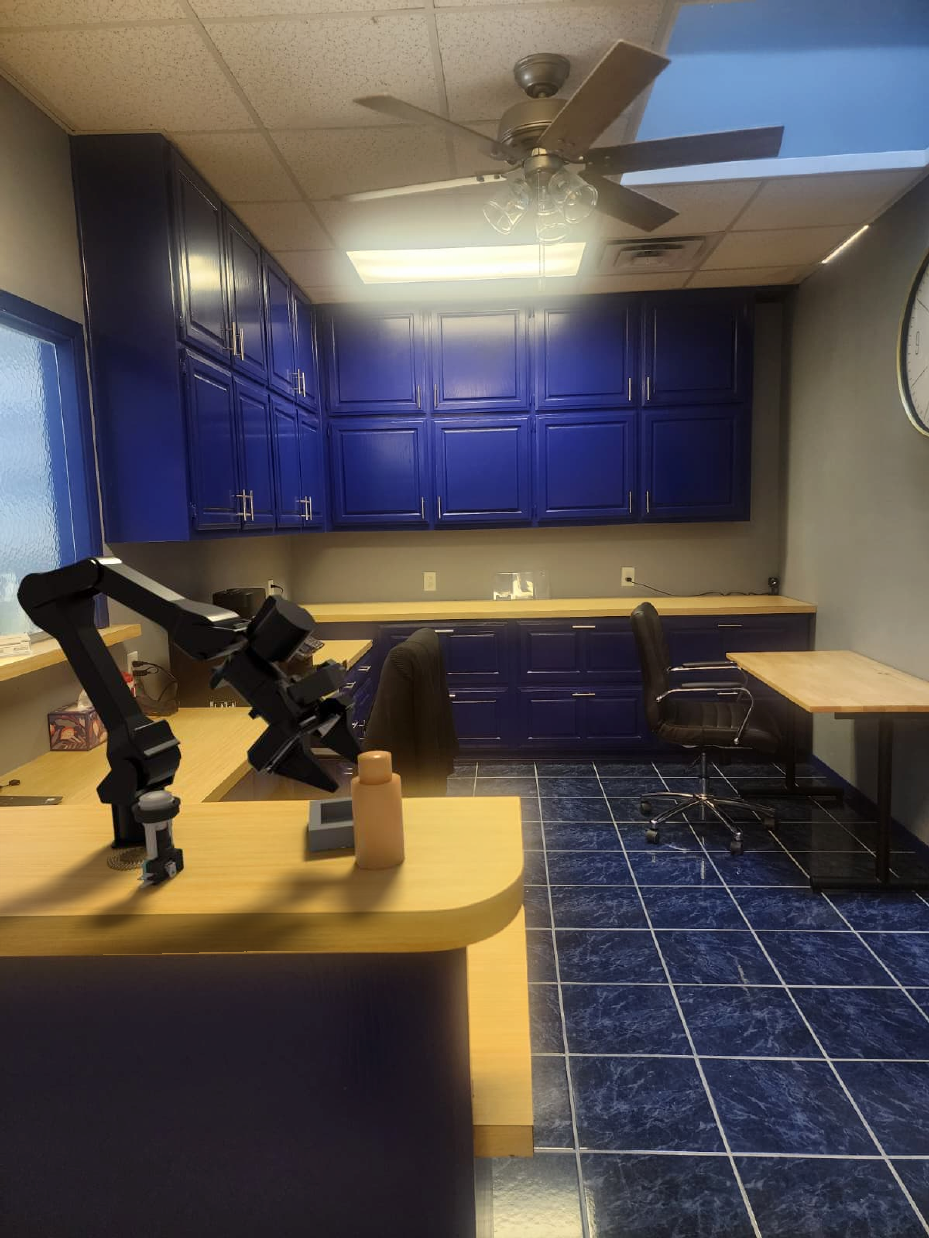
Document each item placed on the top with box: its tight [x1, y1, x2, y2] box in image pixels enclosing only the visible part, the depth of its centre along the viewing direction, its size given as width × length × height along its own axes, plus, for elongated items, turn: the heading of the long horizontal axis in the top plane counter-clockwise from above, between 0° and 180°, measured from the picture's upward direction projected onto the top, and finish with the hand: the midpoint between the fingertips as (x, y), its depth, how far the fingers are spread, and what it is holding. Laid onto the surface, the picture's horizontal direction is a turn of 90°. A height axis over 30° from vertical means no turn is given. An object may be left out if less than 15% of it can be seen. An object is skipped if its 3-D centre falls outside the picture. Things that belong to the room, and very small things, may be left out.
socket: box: [308, 796, 355, 853], centre depth 98 cm, size 11×11×3 cm
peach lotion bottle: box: [350, 750, 406, 871], centre depth 89 cm, size 6×6×13 cm
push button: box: [132, 789, 185, 889], centre depth 86 cm, size 7×5×10 cm
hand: (352, 777), depth 89 cm, fingers open, 9 cm apart
